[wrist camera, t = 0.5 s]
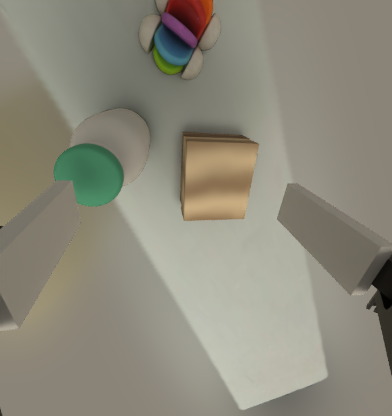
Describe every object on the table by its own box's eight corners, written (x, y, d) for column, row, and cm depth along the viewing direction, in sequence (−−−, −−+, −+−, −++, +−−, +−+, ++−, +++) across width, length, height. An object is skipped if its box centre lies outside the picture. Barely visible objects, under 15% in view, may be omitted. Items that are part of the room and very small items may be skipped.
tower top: (183, 136, 30) (187, 141, 27) (247, 138, 32) (258, 143, 29) (181, 208, 36) (183, 220, 32) (236, 207, 38) (244, 218, 34)
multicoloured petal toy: (224, 22, 28) (244, 0, 22) (186, 91, 31) (194, 89, 25) (169, -32, 25) (173, -76, 18) (133, 51, 28) (126, 37, 21)
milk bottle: (113, 95, 30) (52, 93, 12) (159, 129, 33) (163, 167, 15) (89, 141, 32) (7, 193, 14) (134, 168, 35) (112, 240, 17)
